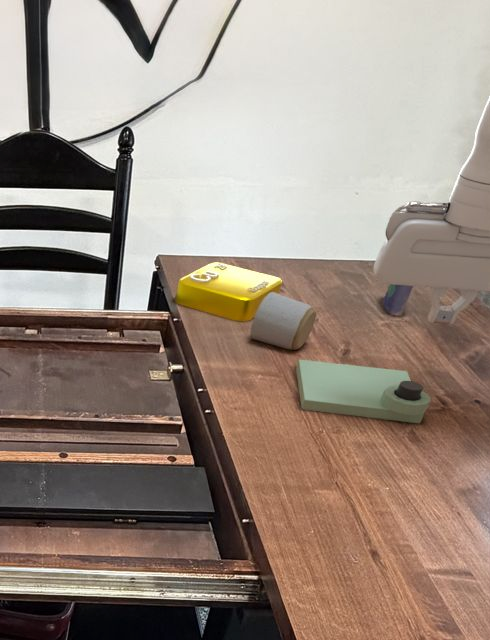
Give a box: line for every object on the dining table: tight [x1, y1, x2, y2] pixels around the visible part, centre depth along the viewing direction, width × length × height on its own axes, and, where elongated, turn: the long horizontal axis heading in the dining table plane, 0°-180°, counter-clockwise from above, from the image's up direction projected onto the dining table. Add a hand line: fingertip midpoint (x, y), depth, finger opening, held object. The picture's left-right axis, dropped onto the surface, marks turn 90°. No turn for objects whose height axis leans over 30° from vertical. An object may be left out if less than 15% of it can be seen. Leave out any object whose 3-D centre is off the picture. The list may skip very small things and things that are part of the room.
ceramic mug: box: [250, 292, 317, 351], centre depth 118 cm, size 11×8×8 cm
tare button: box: [395, 380, 424, 401], centre depth 99 cm, size 3×3×2 cm
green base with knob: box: [295, 359, 432, 424], centre depth 105 cm, size 16×15×4 cm
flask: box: [382, 284, 414, 317], centre depth 129 cm, size 9×3×11 cm, turn 164°
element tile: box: [174, 261, 283, 322], centre depth 132 cm, size 15×15×5 cm
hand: (439, 322), depth 94 cm, fingers closed
